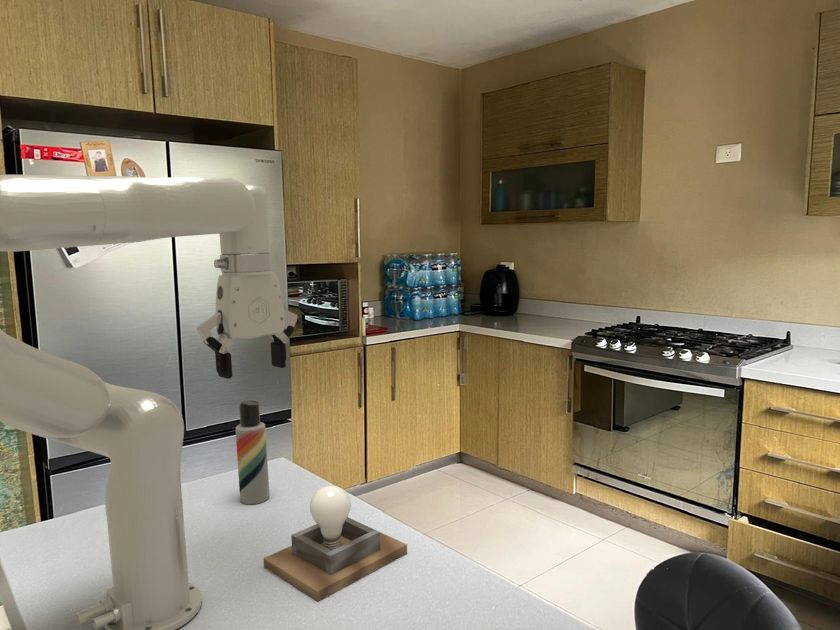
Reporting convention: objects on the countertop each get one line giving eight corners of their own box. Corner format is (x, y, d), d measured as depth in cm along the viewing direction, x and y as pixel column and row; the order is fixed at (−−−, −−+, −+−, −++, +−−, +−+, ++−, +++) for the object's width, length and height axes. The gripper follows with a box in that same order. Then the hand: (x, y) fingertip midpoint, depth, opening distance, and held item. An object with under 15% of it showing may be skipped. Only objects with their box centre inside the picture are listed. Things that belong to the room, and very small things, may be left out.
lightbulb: (355, 543, 102) (353, 479, 101) (347, 564, 96) (345, 495, 94) (318, 542, 103) (315, 478, 101) (307, 562, 96) (304, 495, 95)
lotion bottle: (239, 495, 126) (233, 399, 124) (268, 491, 128) (263, 396, 125) (240, 506, 121) (234, 406, 118) (270, 502, 122) (264, 403, 120)
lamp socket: (317, 601, 89) (316, 571, 88) (264, 567, 98) (262, 540, 98) (407, 553, 102) (406, 527, 101) (351, 526, 111) (350, 502, 111)
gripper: (206, 268, 89) (214, 385, 91) (306, 262, 101) (311, 366, 104) (182, 267, 94) (190, 378, 97) (280, 262, 107) (285, 360, 109)
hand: (253, 371), depth 100 cm, fingers open, 9 cm apart
